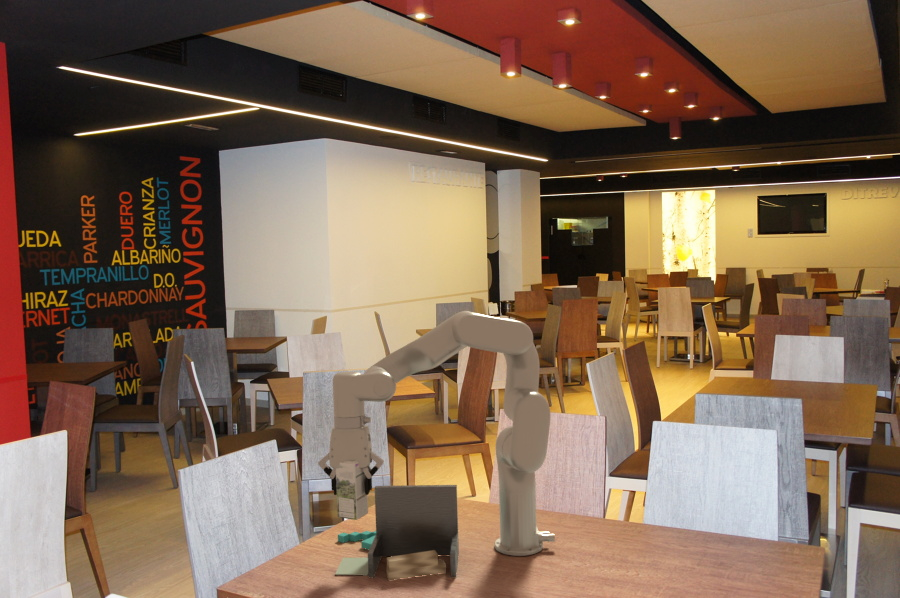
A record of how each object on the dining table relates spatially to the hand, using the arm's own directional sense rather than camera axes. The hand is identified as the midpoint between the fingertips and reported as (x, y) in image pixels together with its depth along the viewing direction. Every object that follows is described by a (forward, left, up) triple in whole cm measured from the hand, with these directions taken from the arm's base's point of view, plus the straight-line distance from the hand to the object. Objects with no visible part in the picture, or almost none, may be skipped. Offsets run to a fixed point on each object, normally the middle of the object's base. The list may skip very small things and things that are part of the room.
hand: (352, 492), depth 185 cm
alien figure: (-6, -20, -19) cm, 29 cm away
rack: (-15, -1, -19) cm, 24 cm away
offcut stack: (-16, +5, -19) cm, 25 cm away
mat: (0, 0, -19) cm, 19 cm away
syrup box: (0, 0, -6) cm, 6 cm away
